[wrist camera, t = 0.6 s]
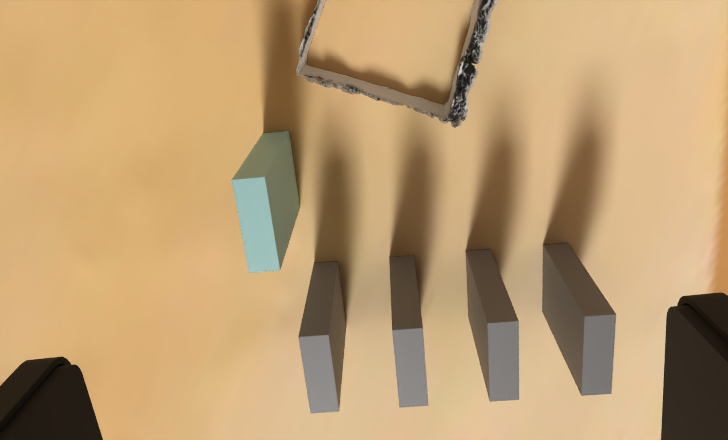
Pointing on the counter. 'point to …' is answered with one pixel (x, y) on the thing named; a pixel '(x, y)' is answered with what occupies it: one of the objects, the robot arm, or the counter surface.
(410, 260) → the domino
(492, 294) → the domino
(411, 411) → the counter surface
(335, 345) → the domino
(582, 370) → the domino
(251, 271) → the teal domino
